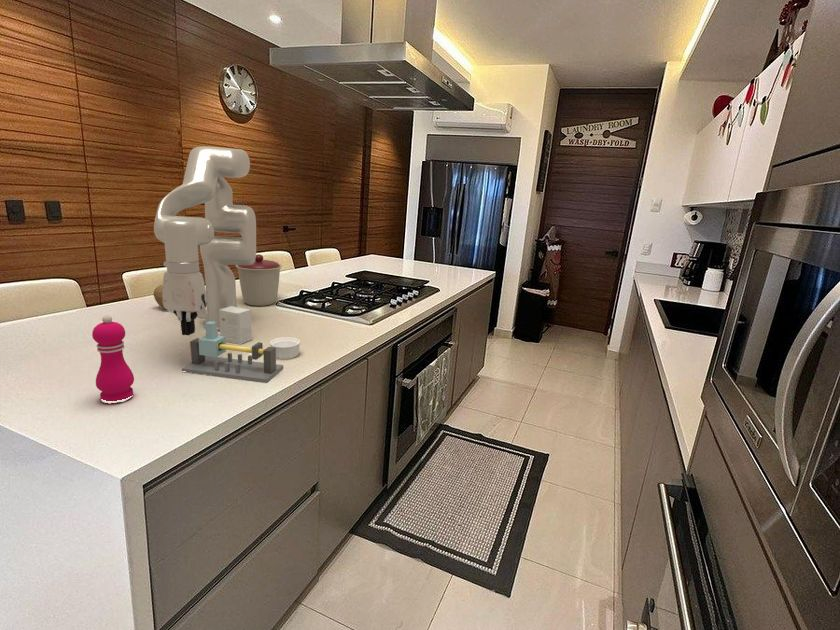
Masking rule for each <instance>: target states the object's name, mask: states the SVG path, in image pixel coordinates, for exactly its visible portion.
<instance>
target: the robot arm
mask: <svg viewBox="0 0 840 630" xmlns="http://www.w3.org/2000/svg"><path fill="white" fill-rule="evenodd" d="M250 167H251V161H250V157H249V155H248V153H247V152H246V150H244V149H240V148H231V147H220V146H208V145H207V146H205V145H204V146H203V145H202V146H196V147H193V148H192V149H191V150H190V152H189V155H188V159H187V164H186V167H185V171H184V176H183V181H182V184H181V185H179V186H177V187H176V188H174V189H173V190H172V191H170V192H169V193H167V194H166V195H165V196H164V197H163V198H162V199H161V200H160V201H159V203H158V205H157V206H158V207H157V209H156V213H155V218H154V223H153V224H154V225H153V232H154V236H155V237H156V239H157V240H158V241H159V242H161V243H163V244H164V251H165V261H163V266H164V267H166V271H165V272H164V273H163V278H162V285H163V288H162V294H163V306H164V307H165V308H166V309H165V310H166V311H167V312H168V313H169V312H170V313H172V314H174V315H175V316H176V317H177V320H178V321H179V322H180V330H181V335H182V336H187V337H188V336H190V335H193V334H194V333H196V332H195V331H196V324H195V321H196V320H197V318H198V319H202V320H204V322H203V323H202V325H203V328H204V329H206V327H205V323H207V322H209V321H213V322H217V332H219V331H220V320H219V310H220V309H223V308H227V307H230V306H233V307H237V306H238V305H237V286H236V275H235V274H234V272H233V271H232V269H231V268H230V267H229V266H236V265H252V264H253V263H254V262H255V259H256V255H257V220H256V219H257V217H256V214H255V211H254V209H253V208H252V207H251V206H248V205H244V204H234V203H233V199H234V198H233V189H232V187H231V185H230V183H228V181H227V180H226V179H225V178H230V179H231V178H233V179H241V178H244V177H246V176H247V175H248V173H249V172H250V170H251V168H250ZM202 204H204V217H200V216H185V215H184V216H182V215H177V214H178V213H180V212H182V211H183V210H186V209H188V208H192V207H196V206H199V205H202ZM215 232H216V233H226V234H227V233H228V234H229V233H230V234H239V235H241V237H239V236H237V237H236V236H226V235H225V236H221V235H215ZM199 251H200V256H201V259H202V263H203V270H204V277H203V274H202V272H200V262H199V261H200V260H199V259H200V258H199V257H200V256H199ZM204 280H205V281H204Z"/></svg>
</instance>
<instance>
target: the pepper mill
mask: <svg viewBox="0 0 840 630" xmlns="http://www.w3.org/2000/svg"><path fill="white" fill-rule="evenodd" d="M101 321H102V322H100V323H98V324H97V325H95V326H94V328H93V330H92V331H91V333H92V339H93V340H94V342H95V343H97V344H96V348H97V349H96V350H97V352H98V353H99V354H100V366H99V369H98V371H97V374H96V377H95V386H96V388H97V389H98V390H99V391H101V392H100V393H99V398H100V400H101V399H103V400H106V401H117V400H122V399H126V398H128V397H130V396H132V395H133V394H134V389H133V387H132V385H134V382H135V377H134V373H133V371H132V369H131V368H130V366H129V365H128V364H127V362H126V360H125V358H124V354H123V352H124V351H123V350H124V349H125V345H124V344H125V342H124V338H126V337H125V336H126V329H125V327H124V326H123V325H122V324H121V323H119V322H117V321H116V322H115V321H113V318H112V316H110V315H103V317H102V319H101ZM133 396H134V395H133Z"/></svg>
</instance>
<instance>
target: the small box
mask: <svg viewBox="0 0 840 630" xmlns="http://www.w3.org/2000/svg"><path fill="white" fill-rule="evenodd" d="M251 314H252V313H251V309H249V308H244V307H233V306H230V307H227V308H223V309H220V310H219V320H220V333H219V334H220V336H225V343H226V342H227V343H232V344H237V345H242V344H244V343H247V342H249V341H251V340H252V339H253V333H252V332H253V330H252V318H251V317H252V315H251Z"/></svg>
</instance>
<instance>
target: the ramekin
mask: <svg viewBox="0 0 840 630" xmlns="http://www.w3.org/2000/svg"><path fill="white" fill-rule="evenodd" d="M300 345H301V340H300V339H299V338H296V337H292V336H291V337H290V336H286V337H277V338H273V339H271V340H270V341H269V347H275V348H276V360H277V359H278V360H290V359H293V358H294V359H295V358H296V357H297V356H299V354H300Z"/></svg>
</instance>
